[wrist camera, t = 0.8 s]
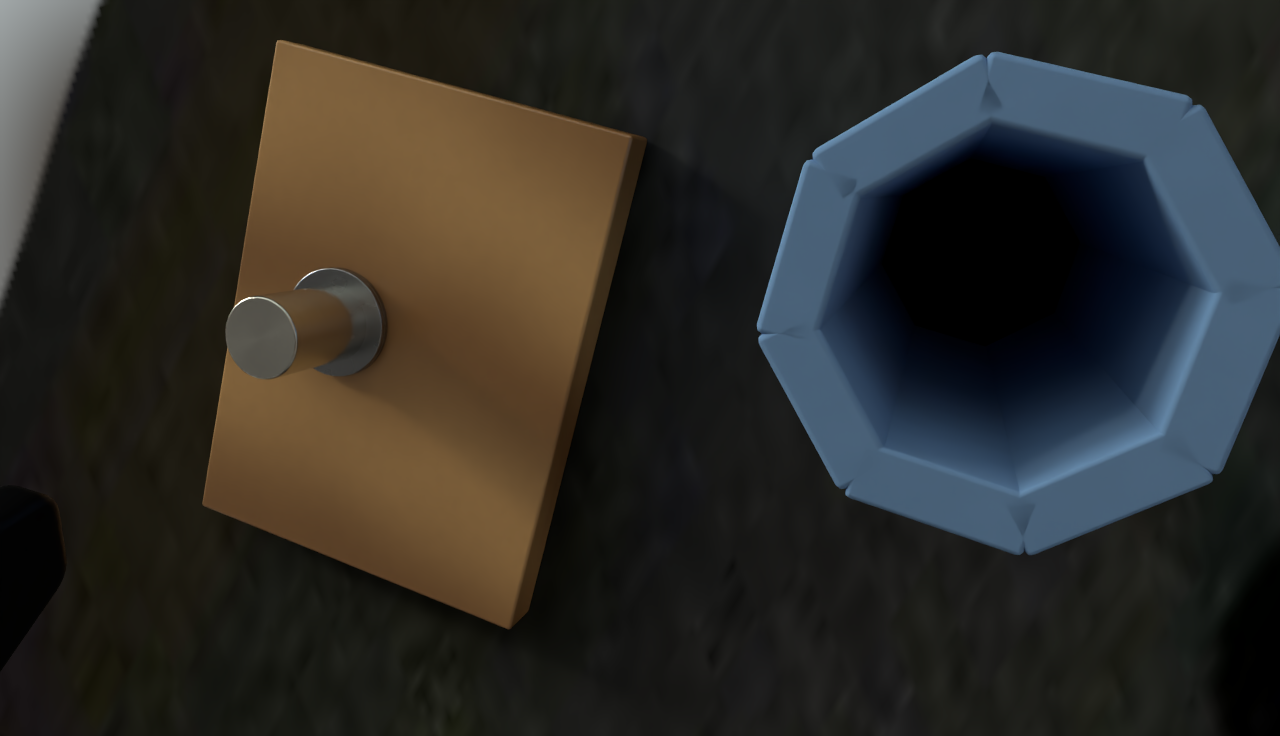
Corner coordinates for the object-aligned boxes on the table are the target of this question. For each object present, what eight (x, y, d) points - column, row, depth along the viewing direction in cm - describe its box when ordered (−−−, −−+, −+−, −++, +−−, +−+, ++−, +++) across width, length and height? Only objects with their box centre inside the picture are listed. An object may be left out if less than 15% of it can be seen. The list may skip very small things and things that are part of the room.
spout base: (529, 612, 25) (451, 689, 21) (231, 493, 28) (110, 544, 24) (648, 138, 23) (585, 126, 19) (306, 45, 25) (183, 17, 21)
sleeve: (1059, 403, 21) (1166, 607, 11) (825, 331, 22) (718, 454, 12) (1148, 165, 20) (1365, 136, 9) (897, 103, 21) (845, 16, 11)
